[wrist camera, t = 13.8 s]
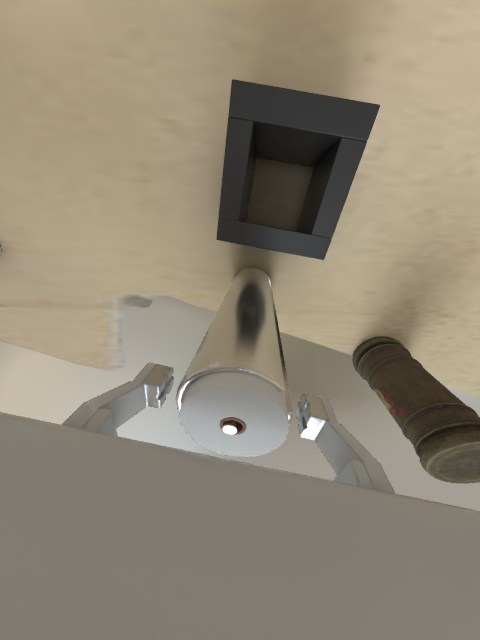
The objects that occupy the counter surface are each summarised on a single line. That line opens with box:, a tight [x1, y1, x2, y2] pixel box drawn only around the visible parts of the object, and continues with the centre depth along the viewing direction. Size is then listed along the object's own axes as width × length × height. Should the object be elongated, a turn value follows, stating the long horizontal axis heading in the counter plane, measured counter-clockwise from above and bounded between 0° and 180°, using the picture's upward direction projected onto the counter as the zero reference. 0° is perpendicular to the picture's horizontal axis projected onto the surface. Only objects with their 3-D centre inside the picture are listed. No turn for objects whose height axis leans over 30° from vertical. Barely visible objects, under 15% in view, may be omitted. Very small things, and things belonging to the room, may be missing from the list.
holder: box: [217, 80, 380, 260], centre depth 21 cm, size 12×12×9 cm
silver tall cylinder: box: [176, 267, 293, 457], centre depth 20 cm, size 6×6×25 cm
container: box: [353, 337, 480, 483], centre depth 27 cm, size 9×9×18 cm
